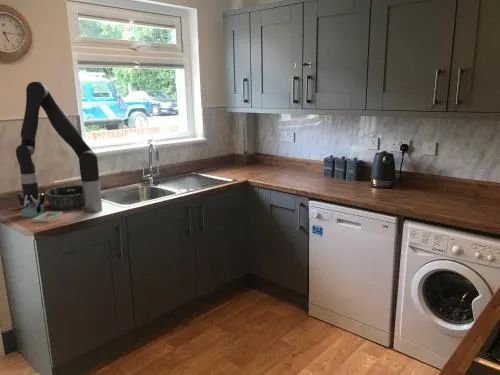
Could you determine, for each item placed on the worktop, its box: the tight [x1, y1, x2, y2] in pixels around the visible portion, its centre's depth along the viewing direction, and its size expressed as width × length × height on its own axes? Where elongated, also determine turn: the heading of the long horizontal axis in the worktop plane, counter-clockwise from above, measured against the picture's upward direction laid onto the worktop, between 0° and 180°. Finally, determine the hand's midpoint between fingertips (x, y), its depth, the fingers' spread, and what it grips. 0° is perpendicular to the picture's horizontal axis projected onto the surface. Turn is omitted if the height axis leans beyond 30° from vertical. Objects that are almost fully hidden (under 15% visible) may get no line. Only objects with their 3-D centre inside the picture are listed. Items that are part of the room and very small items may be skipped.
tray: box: [31, 211, 64, 223], centre depth 214 cm, size 14×9×2 cm, turn 176°
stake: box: [28, 204, 45, 217], centre depth 222 cm, size 8×8×6 cm
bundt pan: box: [45, 184, 84, 211], centre depth 240 cm, size 26×26×10 cm
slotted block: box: [21, 203, 45, 218], centre depth 222 cm, size 11×6×4 cm, turn 175°
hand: (33, 212), depth 222 cm, fingers closed on slotted block, 5 cm apart
